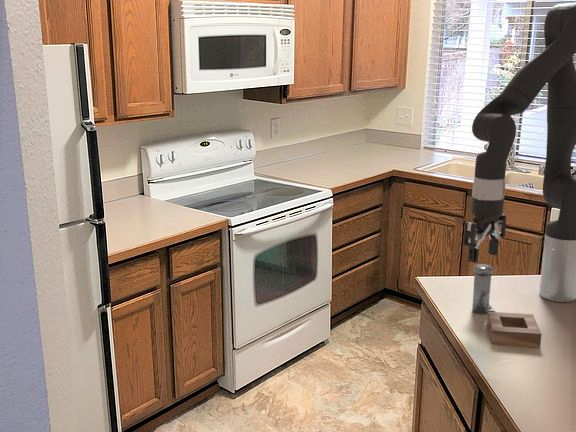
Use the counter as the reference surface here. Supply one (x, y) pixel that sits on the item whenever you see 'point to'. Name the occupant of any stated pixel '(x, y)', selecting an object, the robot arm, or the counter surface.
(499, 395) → the counter surface
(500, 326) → the socket block
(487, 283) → the pin
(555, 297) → the robot arm
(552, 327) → the counter surface
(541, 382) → the counter surface
